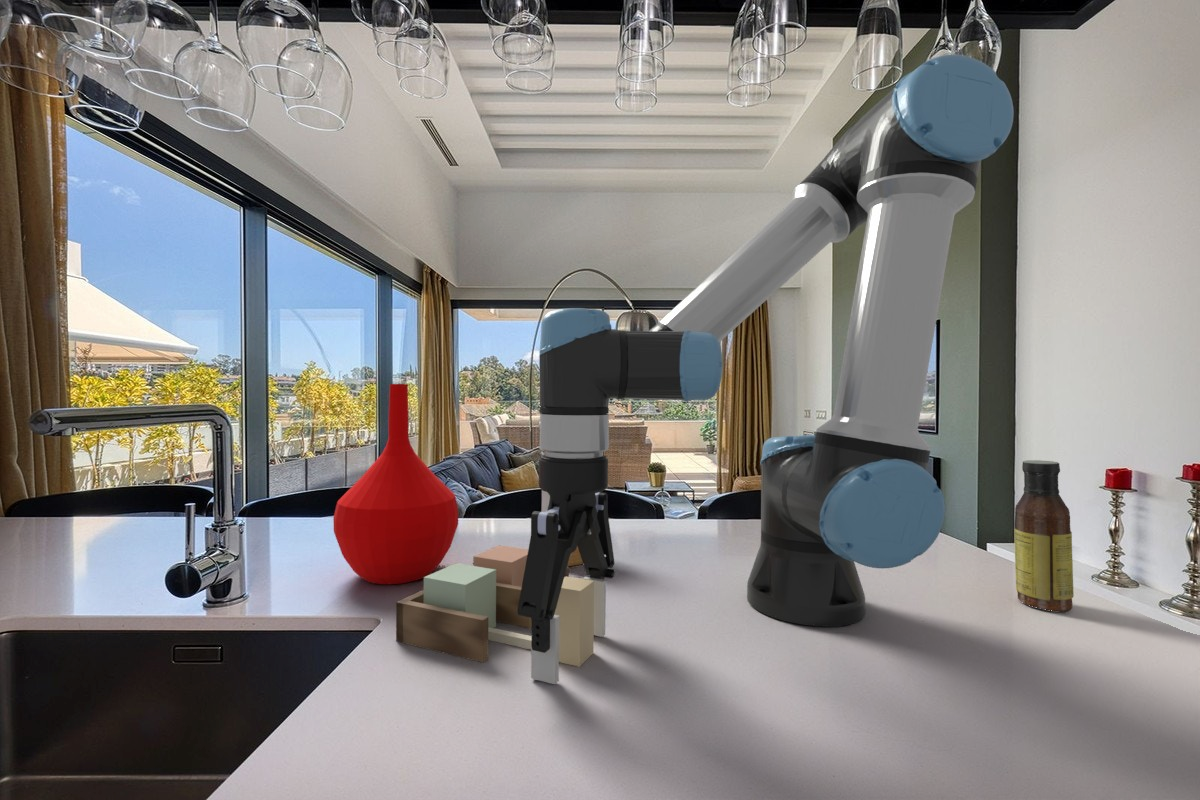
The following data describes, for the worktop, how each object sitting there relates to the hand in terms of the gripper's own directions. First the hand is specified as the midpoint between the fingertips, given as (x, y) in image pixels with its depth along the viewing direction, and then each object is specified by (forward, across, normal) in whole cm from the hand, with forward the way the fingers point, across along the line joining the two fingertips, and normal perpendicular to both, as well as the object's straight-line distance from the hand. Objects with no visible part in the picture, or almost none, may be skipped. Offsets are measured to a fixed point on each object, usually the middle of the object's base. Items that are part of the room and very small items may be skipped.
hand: (571, 654), depth 61 cm
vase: (0, -13, -37) cm, 39 cm away
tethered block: (0, 0, -8) cm, 8 cm away
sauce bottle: (0, -41, +52) cm, 66 cm away
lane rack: (0, -5, -14) cm, 15 cm away
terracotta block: (0, -10, -15) cm, 18 cm away
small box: (0, -31, -16) cm, 35 cm away
